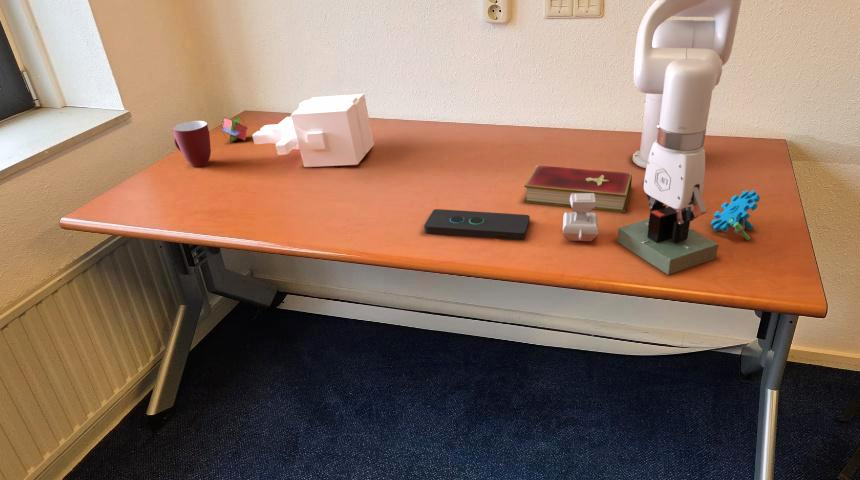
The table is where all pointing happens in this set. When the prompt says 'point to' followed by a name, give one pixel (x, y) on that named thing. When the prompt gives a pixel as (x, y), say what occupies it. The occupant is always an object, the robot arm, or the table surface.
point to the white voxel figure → (323, 131)
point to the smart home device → (477, 224)
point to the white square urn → (581, 218)
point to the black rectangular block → (662, 224)
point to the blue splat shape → (736, 213)
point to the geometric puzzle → (234, 129)
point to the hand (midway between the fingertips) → (667, 233)
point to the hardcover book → (578, 187)
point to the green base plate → (667, 248)
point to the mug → (193, 142)
